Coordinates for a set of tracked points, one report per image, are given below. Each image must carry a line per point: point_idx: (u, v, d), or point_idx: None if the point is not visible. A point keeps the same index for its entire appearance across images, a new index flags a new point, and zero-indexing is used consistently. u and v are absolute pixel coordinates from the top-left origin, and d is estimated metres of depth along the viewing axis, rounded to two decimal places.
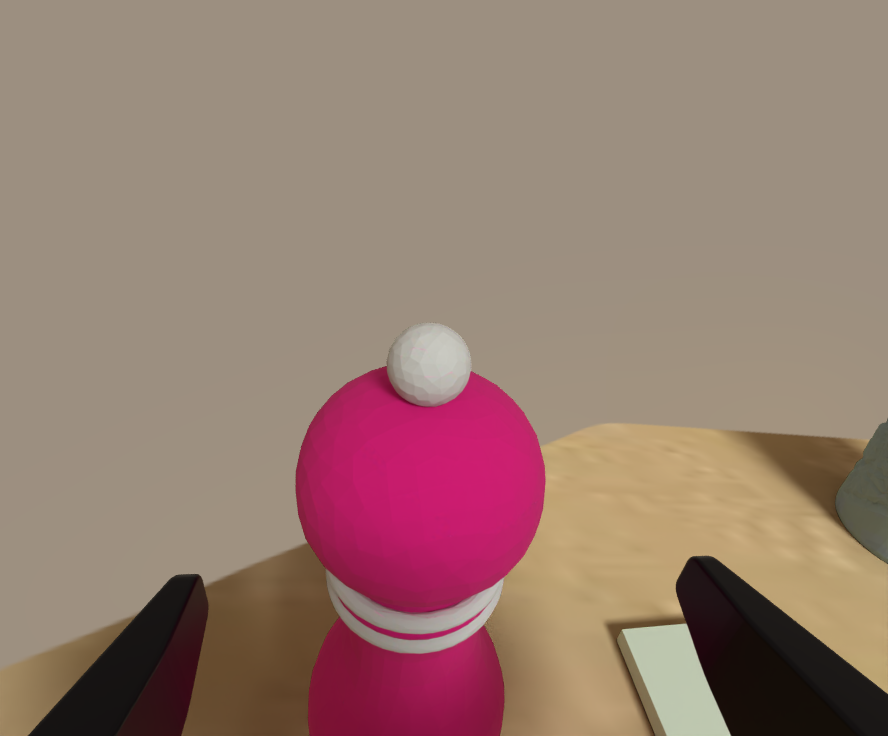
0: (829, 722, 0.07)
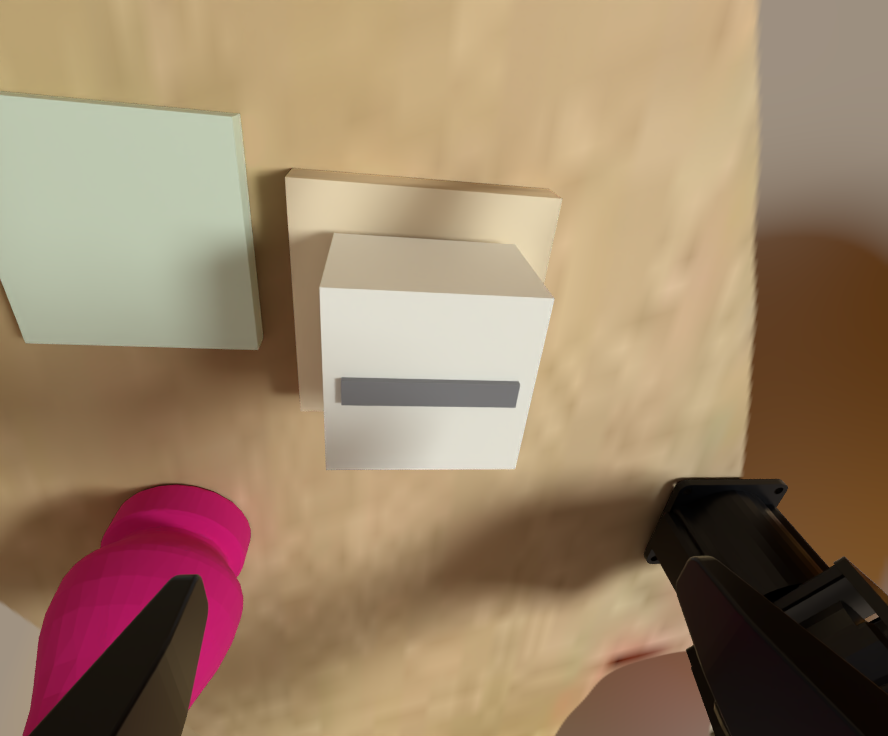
0: (829, 722, 0.07)
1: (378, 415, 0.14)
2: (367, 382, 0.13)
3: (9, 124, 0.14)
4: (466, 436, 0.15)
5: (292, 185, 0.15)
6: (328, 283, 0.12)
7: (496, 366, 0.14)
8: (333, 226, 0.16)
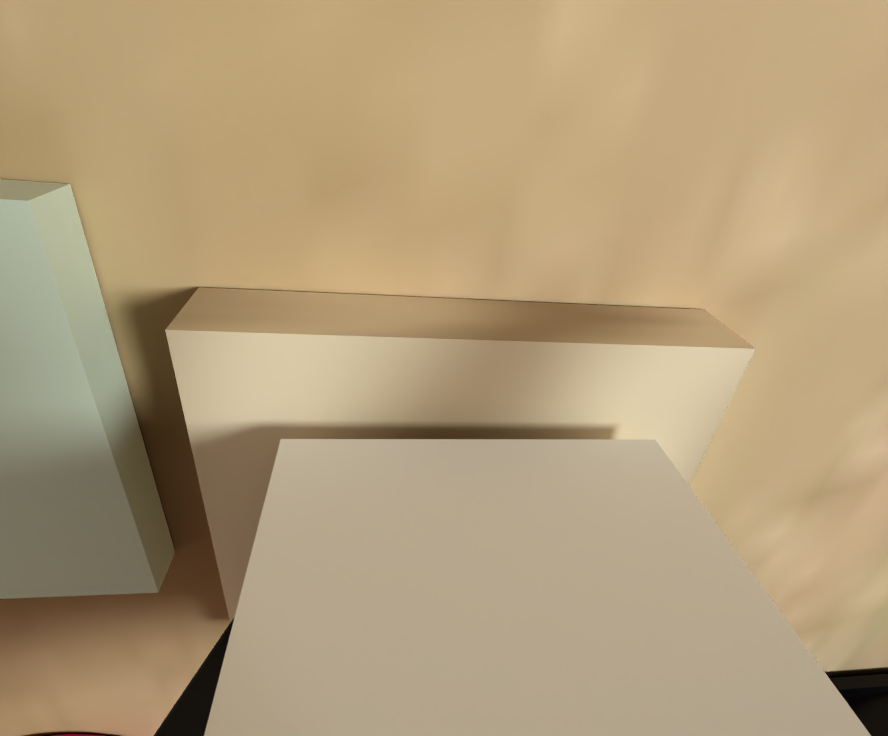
0: None
1: None
2: None
3: None
4: None
5: (184, 345, 0.07)
6: None
7: None
8: (282, 415, 0.08)
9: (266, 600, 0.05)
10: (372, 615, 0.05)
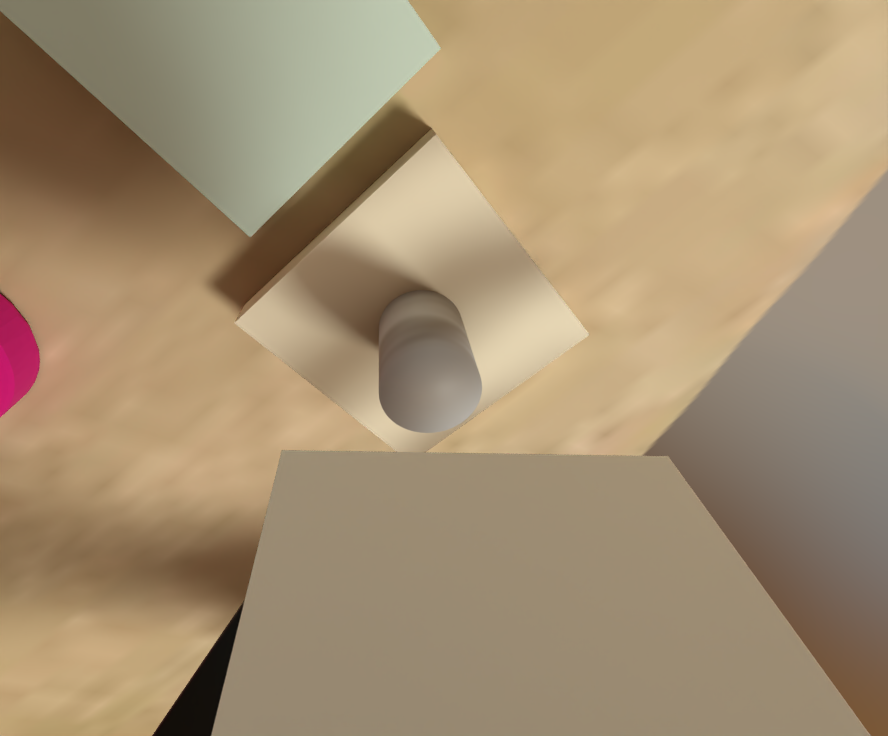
0: None
1: None
2: None
3: None
4: None
5: (434, 146, 0.15)
6: None
7: None
8: (430, 205, 0.15)
9: (267, 627, 0.05)
10: (379, 645, 0.05)
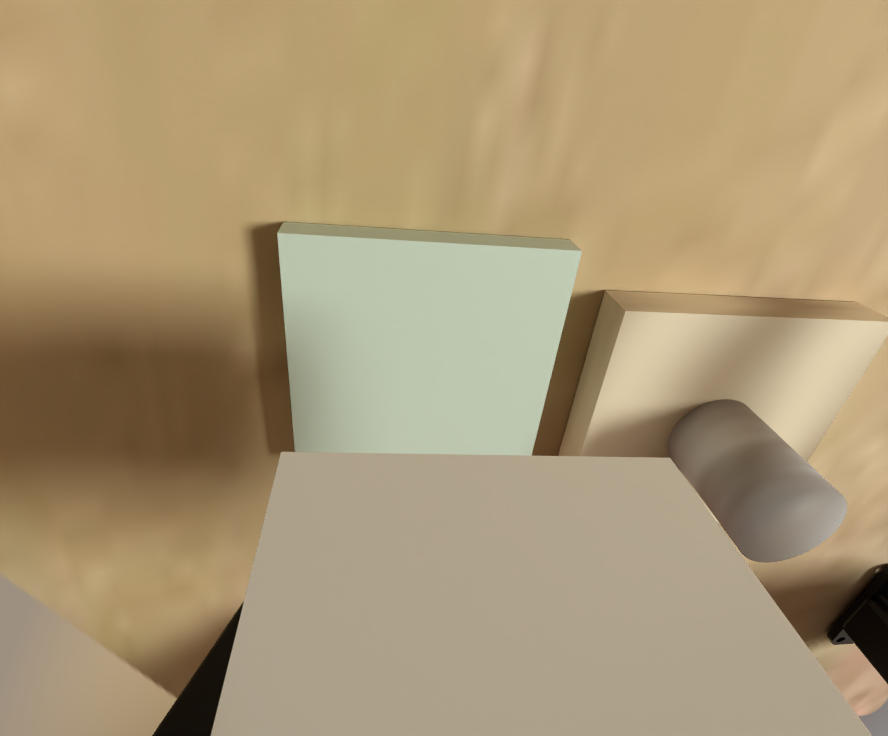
0: None
1: None
2: None
3: (350, 265, 0.13)
4: None
5: (630, 318, 0.14)
6: None
7: None
8: (656, 356, 0.15)
9: (266, 632, 0.05)
10: (379, 650, 0.05)
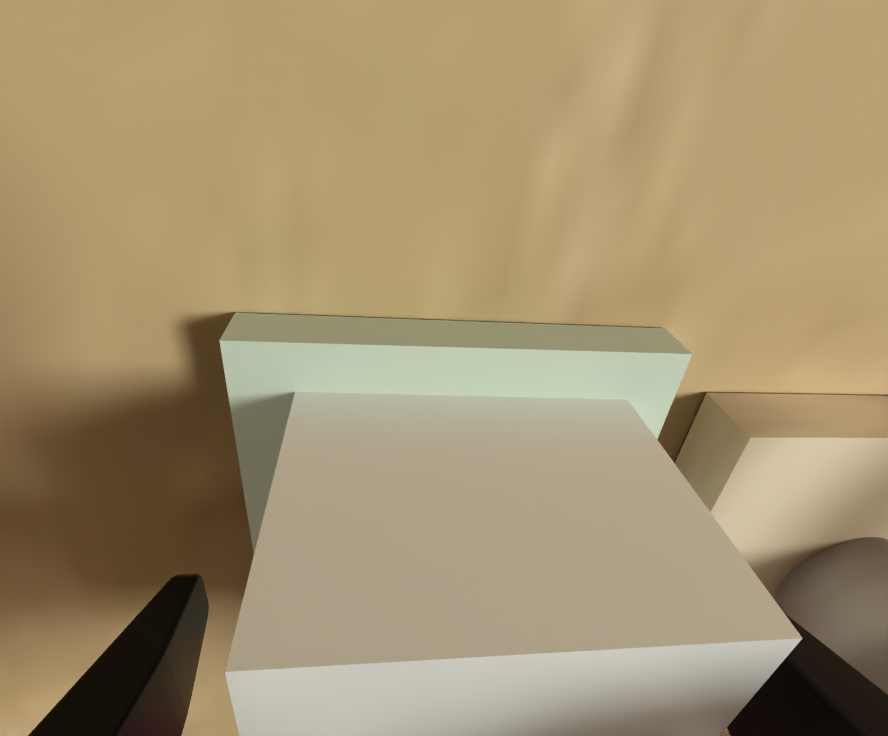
0: (829, 722, 0.07)
1: None
2: None
3: (338, 382, 0.08)
4: None
5: (756, 447, 0.10)
6: (253, 639, 0.05)
7: None
8: (784, 491, 0.10)
9: (288, 511, 0.06)
10: (377, 524, 0.06)
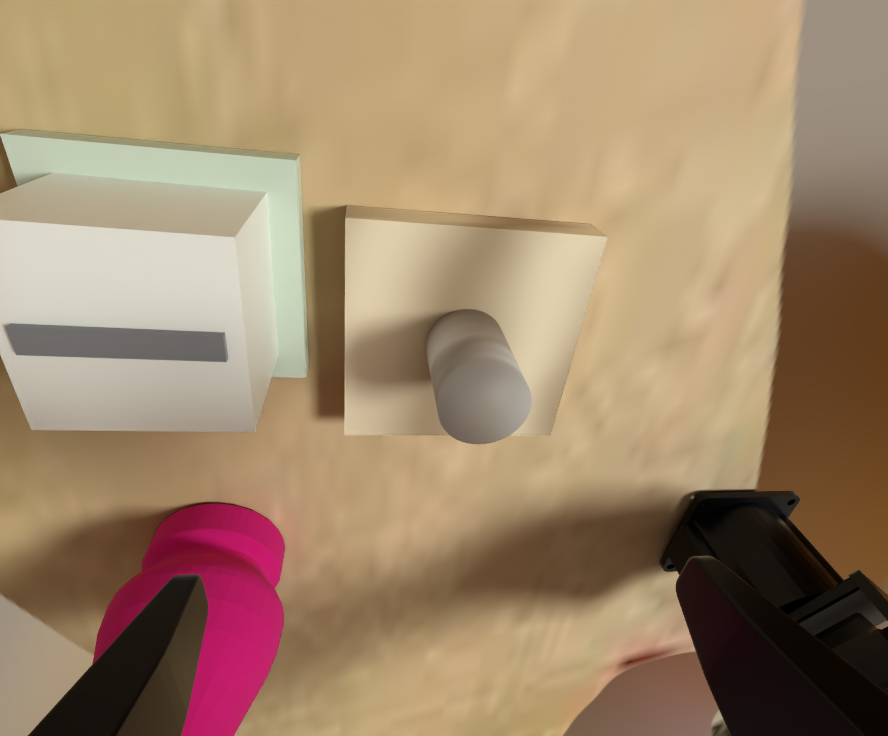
0: (829, 722, 0.07)
1: (71, 368, 0.13)
2: (37, 329, 0.12)
3: (78, 167, 0.14)
4: (185, 394, 0.14)
5: (351, 225, 0.16)
6: None
7: (192, 314, 0.13)
8: (388, 263, 0.17)
9: (10, 195, 0.12)
10: (54, 201, 0.12)
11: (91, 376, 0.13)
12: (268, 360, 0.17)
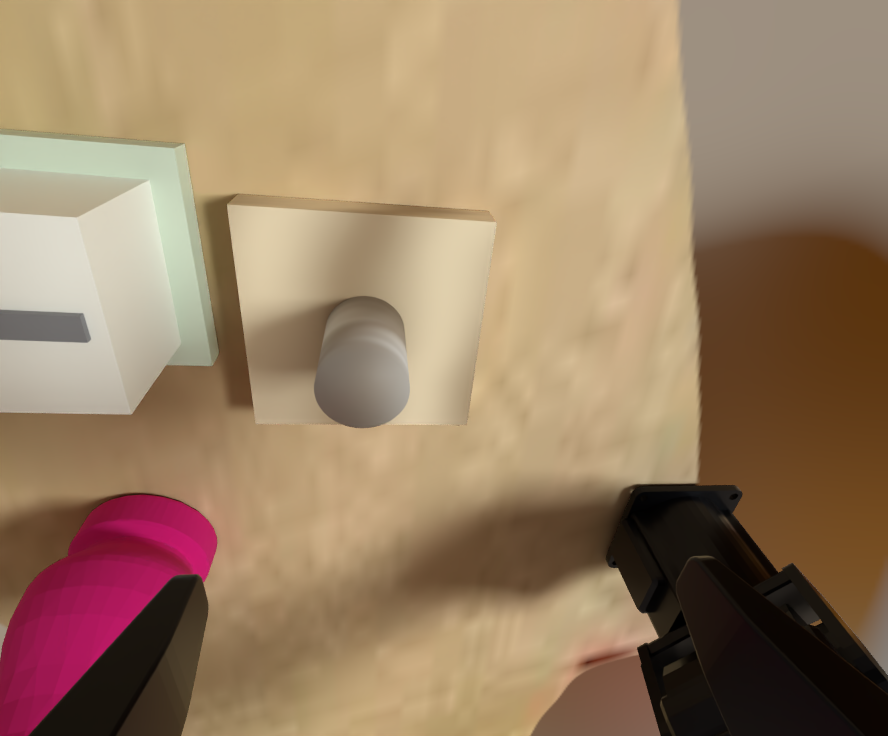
0: (829, 722, 0.07)
1: None
2: None
3: None
4: (54, 375, 0.14)
5: (234, 212, 0.16)
6: None
7: (48, 295, 0.13)
8: (276, 250, 0.17)
9: None
10: None
11: None
12: (159, 346, 0.17)
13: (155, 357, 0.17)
